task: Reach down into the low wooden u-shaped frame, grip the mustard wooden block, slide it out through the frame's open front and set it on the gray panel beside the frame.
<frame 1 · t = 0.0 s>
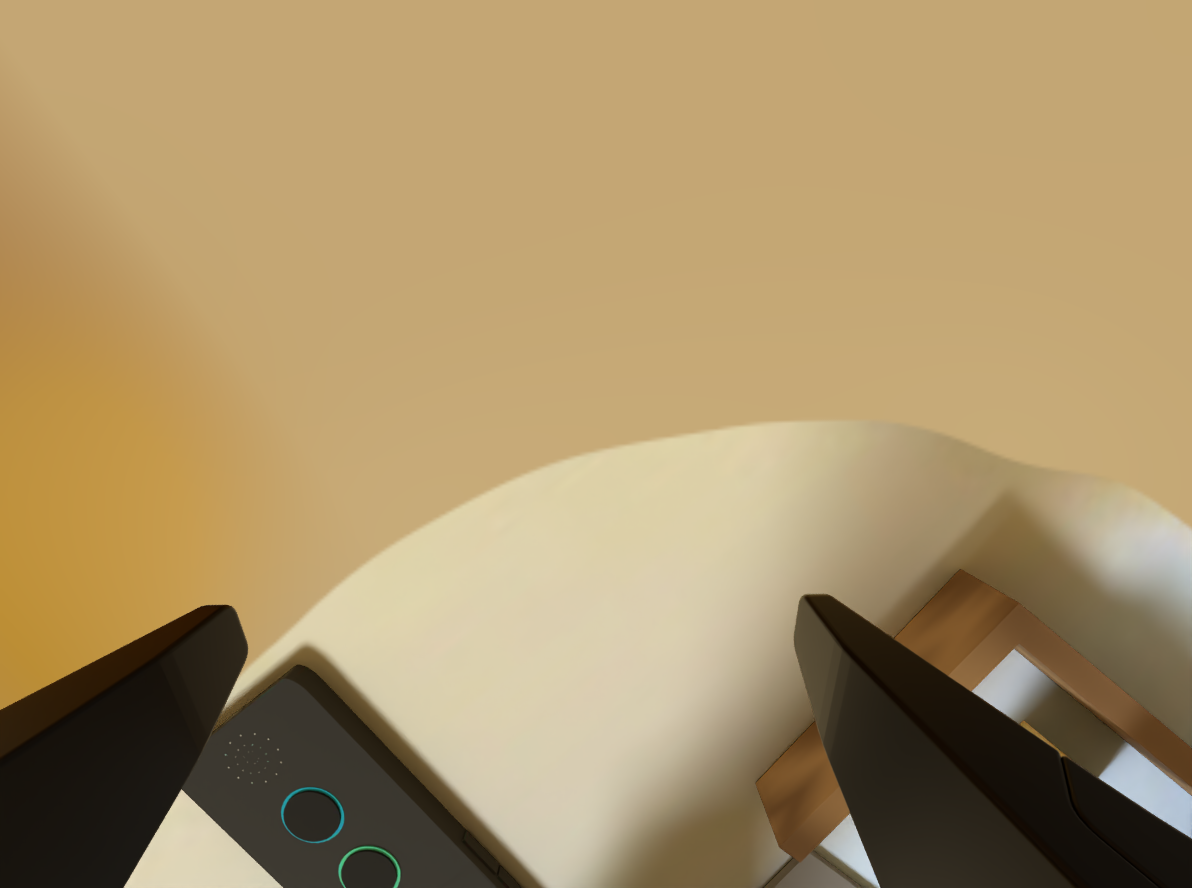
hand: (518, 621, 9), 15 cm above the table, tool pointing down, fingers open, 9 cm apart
wooden u-shaped frame: (1008, 801, 27), on the table
smart home device: (388, 839, 28), on the table
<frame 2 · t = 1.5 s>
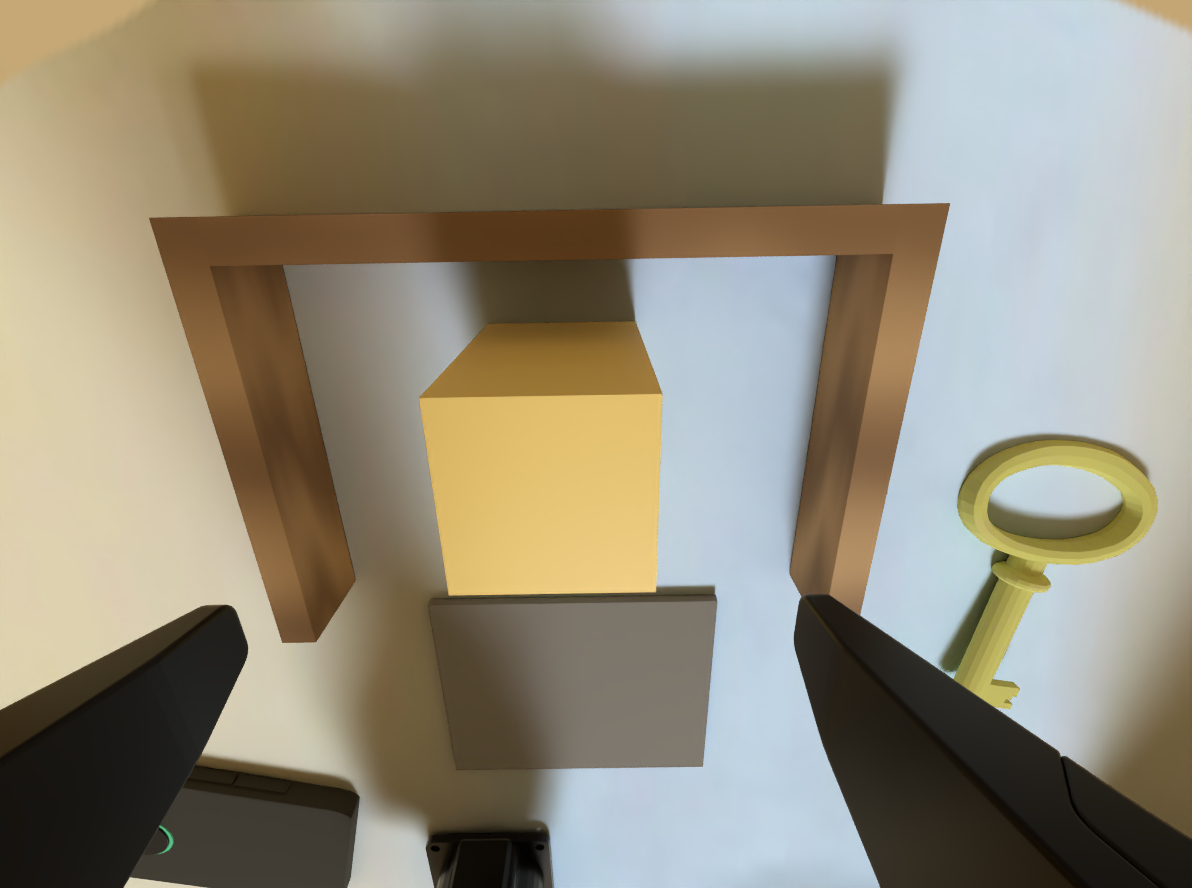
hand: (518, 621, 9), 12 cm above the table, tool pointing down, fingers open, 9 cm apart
mustard block: (564, 392, 20), on the table
gray panel: (576, 685, 25), on the table
wooden u-shaped frame: (565, 419, 20), on the table
smart home device: (170, 798, 29), on the table
key: (1002, 558, 23), on the table
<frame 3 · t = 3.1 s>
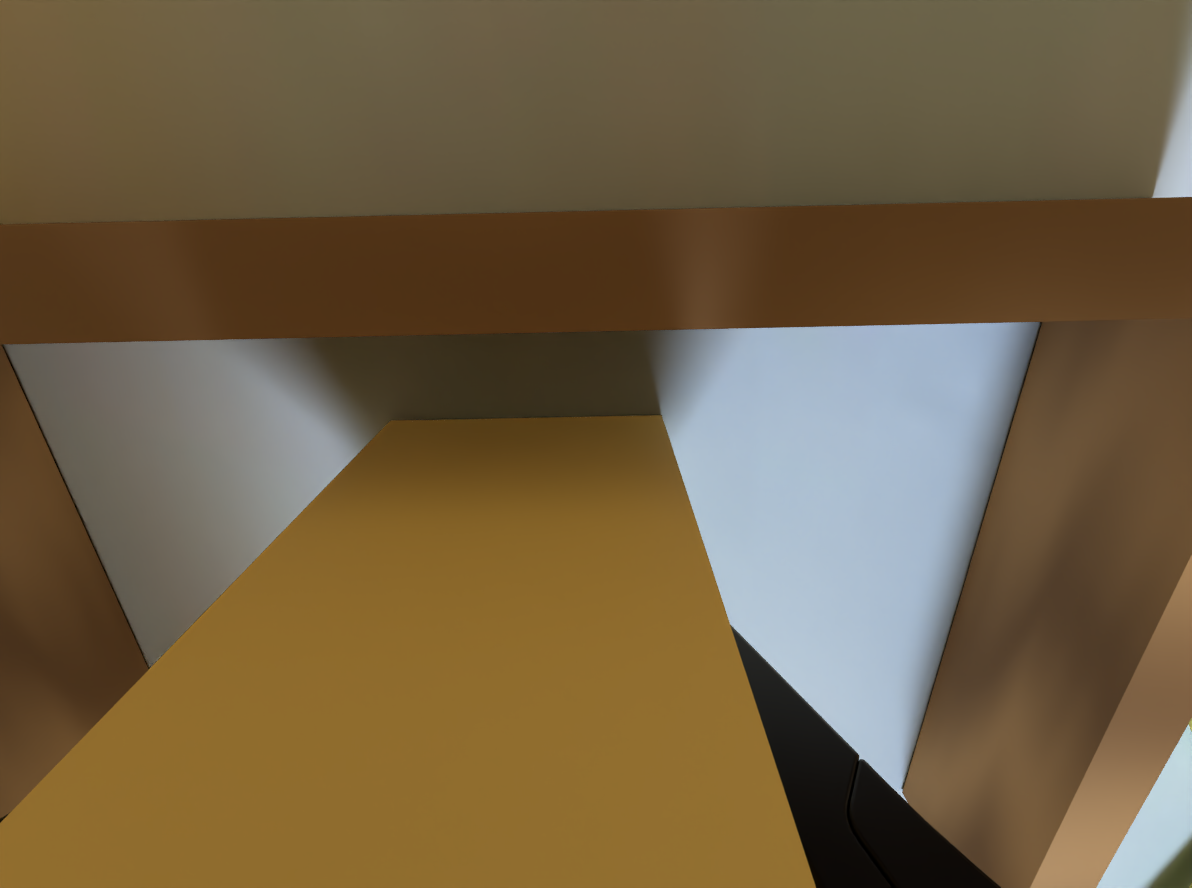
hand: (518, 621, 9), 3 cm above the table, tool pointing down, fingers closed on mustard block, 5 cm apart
mustard block: (534, 533, 11), on the table, touching gripper
wooden u-shaped frame: (537, 575, 11), on the table
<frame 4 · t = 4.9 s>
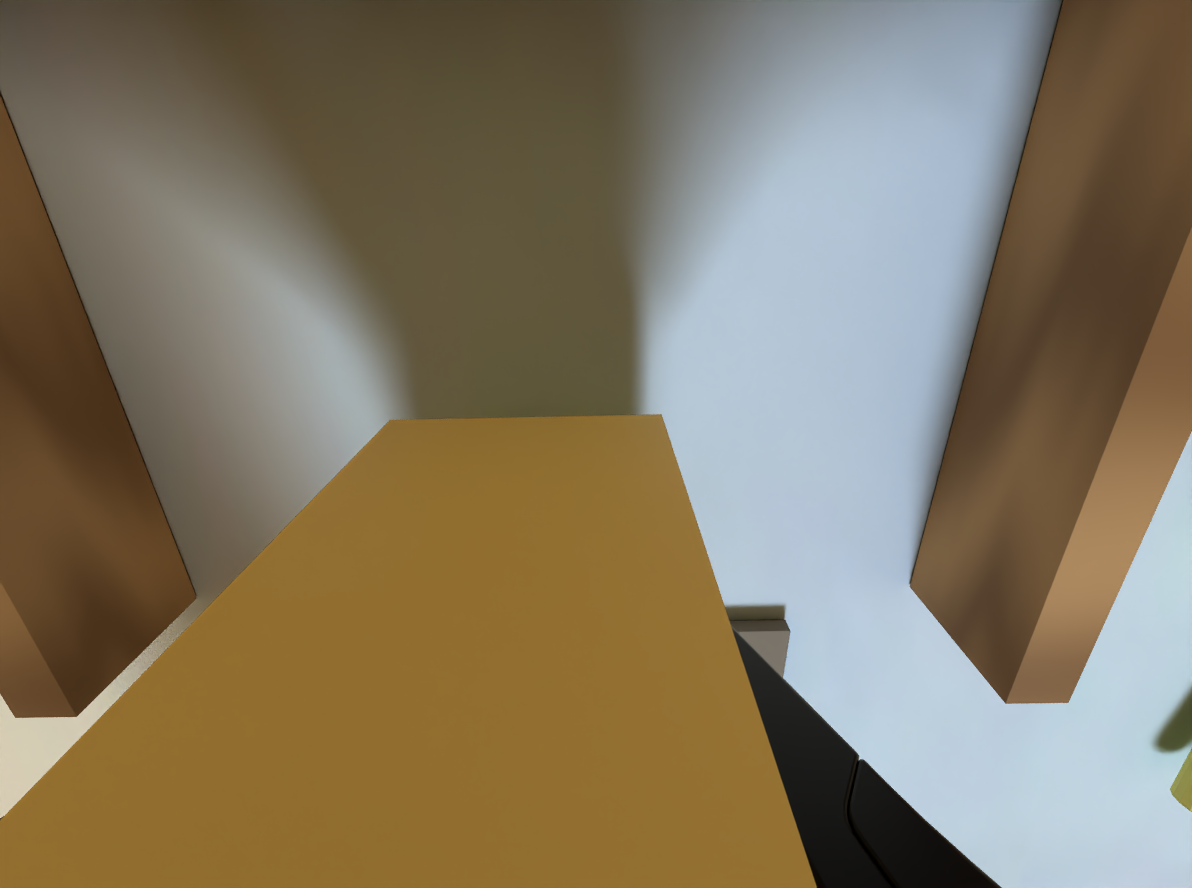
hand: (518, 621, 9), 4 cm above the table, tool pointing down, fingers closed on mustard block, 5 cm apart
mustard block: (534, 533, 11), point 2 cm above the table, touching gripper
gray panel: (562, 755, 16), on the table
wooden u-shaped frame: (533, 311, 11), on the table
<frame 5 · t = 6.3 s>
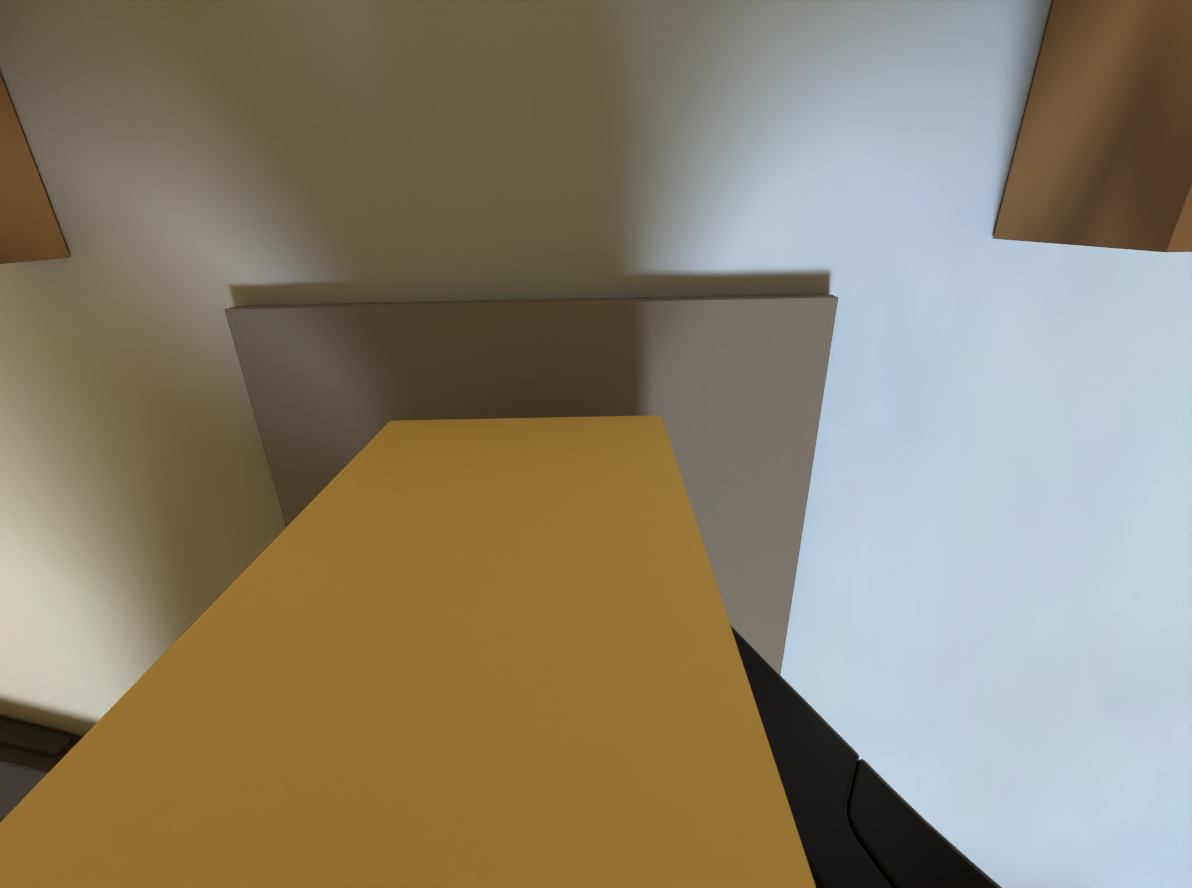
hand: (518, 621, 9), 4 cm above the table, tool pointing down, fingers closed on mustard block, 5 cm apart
mustard block: (534, 534, 11), point 2 cm above the table, touching gripper
gray panel: (546, 514, 13), on the table
when the fingers open (3 cm above the table, at t = 7.2 s): mustard block stays where it is, resting on gray panel.
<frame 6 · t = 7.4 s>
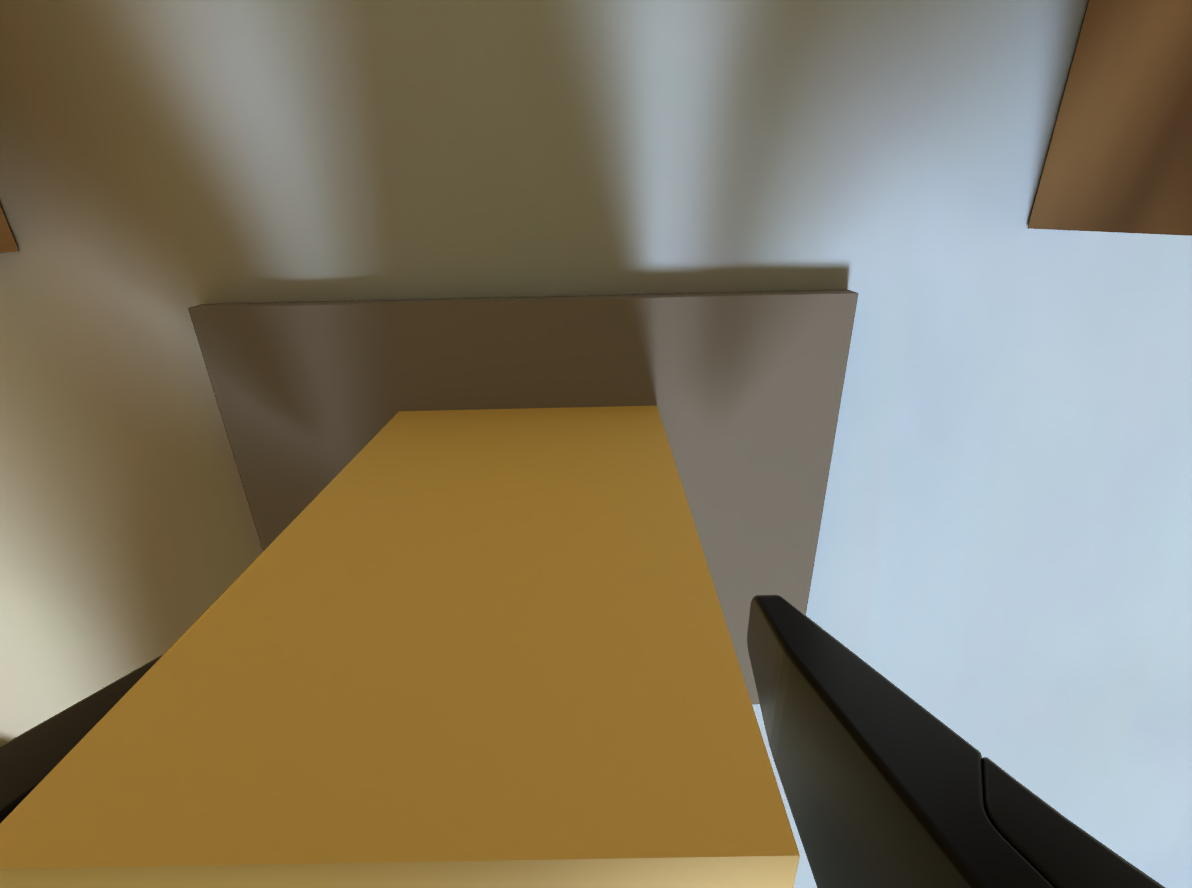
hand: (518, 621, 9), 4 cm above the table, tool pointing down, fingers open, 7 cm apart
mustard block: (536, 519, 12), resting on gray panel
gray panel: (540, 528, 12), on the table
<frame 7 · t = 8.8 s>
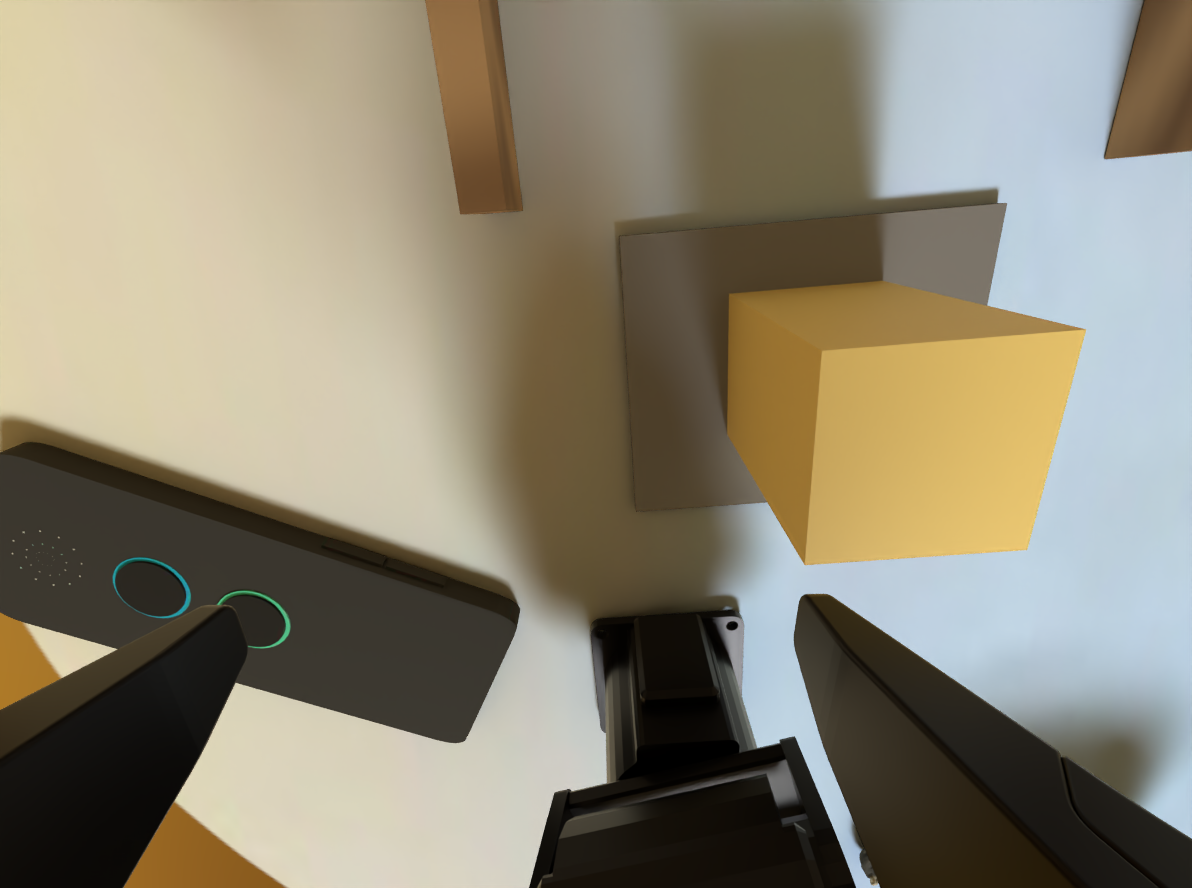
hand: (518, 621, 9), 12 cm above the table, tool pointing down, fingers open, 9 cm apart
mustard block: (800, 361, 19), resting on gray panel
gray panel: (796, 371, 19), on the table
smart home device: (280, 589, 24), on the table
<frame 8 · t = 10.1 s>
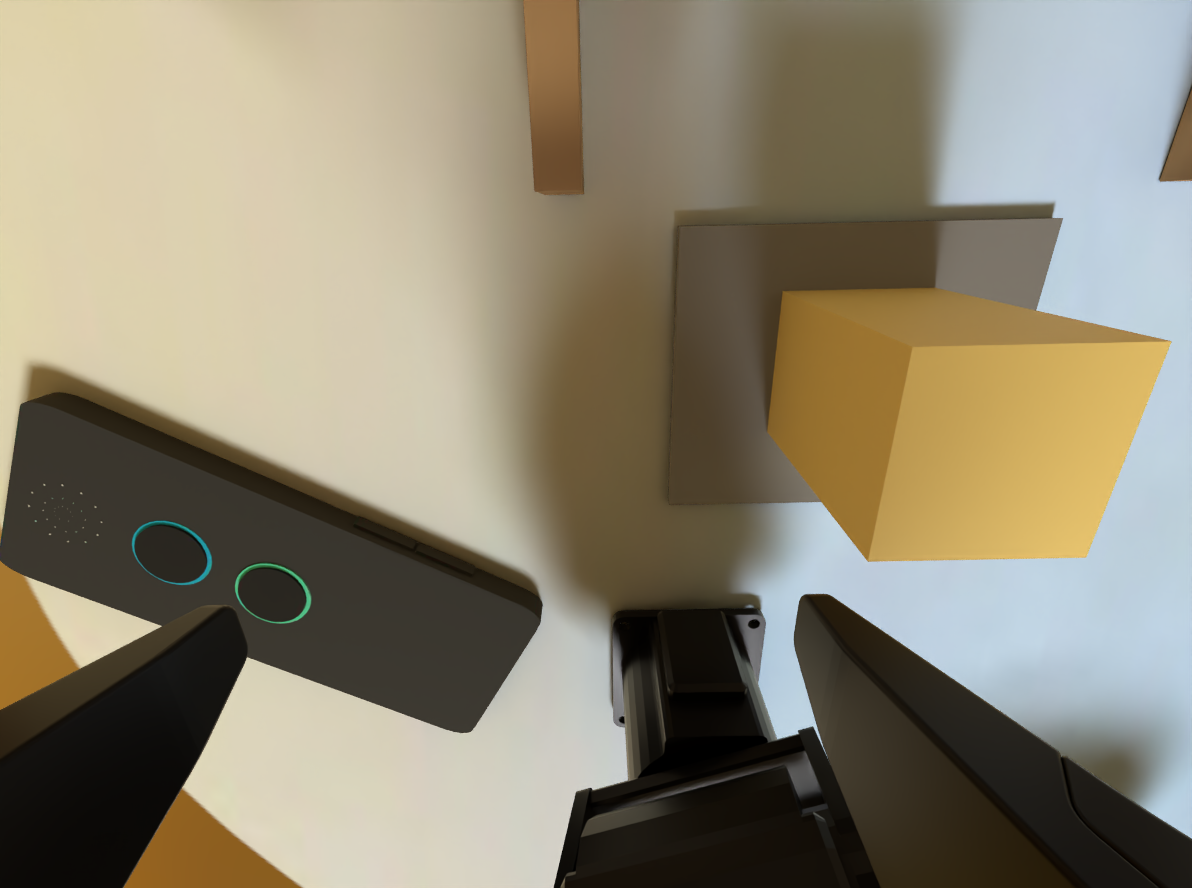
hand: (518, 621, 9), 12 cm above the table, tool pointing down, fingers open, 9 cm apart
mustard block: (846, 363, 19), resting on gray panel
gray panel: (840, 373, 19), on the table
smart home device: (299, 564, 24), on the table
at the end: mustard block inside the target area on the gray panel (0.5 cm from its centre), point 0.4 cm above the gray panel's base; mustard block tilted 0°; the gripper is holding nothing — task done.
